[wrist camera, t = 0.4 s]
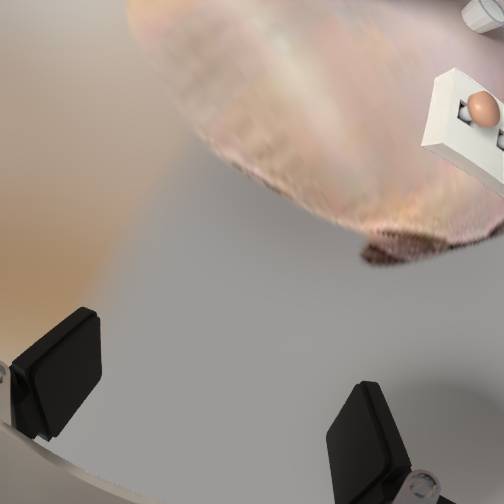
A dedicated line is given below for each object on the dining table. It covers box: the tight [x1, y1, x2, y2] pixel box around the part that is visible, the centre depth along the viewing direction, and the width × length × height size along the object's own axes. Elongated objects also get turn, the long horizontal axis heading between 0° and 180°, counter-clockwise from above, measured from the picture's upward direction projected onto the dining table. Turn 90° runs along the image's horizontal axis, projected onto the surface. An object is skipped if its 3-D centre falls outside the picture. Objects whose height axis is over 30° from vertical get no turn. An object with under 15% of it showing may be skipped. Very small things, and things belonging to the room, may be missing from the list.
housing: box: [421, 68, 504, 198], centre depth 30 cm, size 12×22×6 cm, turn 73°
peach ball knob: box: [457, 91, 500, 128], centre depth 25 cm, size 4×4×7 cm
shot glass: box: [461, 0, 504, 34], centre depth 23 cm, size 7×7×7 cm
